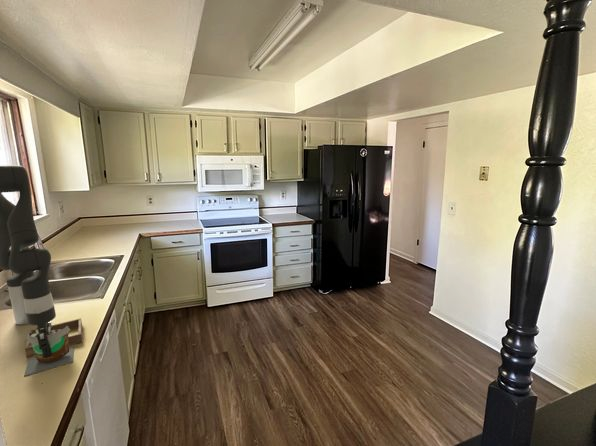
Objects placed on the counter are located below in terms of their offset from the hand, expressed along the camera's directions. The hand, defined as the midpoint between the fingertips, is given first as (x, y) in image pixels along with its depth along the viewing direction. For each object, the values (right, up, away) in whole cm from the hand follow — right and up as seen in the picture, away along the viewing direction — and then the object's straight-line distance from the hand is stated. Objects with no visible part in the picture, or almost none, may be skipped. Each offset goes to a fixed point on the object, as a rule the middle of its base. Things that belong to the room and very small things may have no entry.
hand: (48, 351), depth 111 cm
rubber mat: (0, -4, +1) cm, 4 cm away
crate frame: (-7, -1, +13) cm, 15 cm away
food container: (+1, -3, 0) cm, 3 cm away
